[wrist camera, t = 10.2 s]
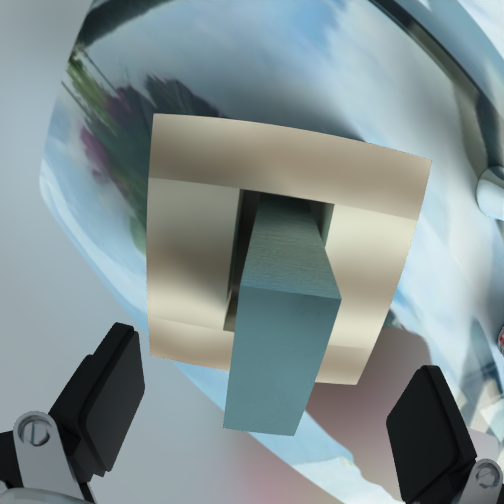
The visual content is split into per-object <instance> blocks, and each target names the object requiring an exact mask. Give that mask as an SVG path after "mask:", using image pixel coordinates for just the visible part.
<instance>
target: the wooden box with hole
mask: <svg viewBox="0 0 504 504" xmlns="http://www.w3.org/2000/svg"><path fill="white" fill-rule="evenodd" d="M431 163H432V161H431V160H428V159H425V158H422V157H418V156H415V155H412V154H408V153H405V152H401V151H397V150H394V149H390V148H386V147H382V146H379V145H375V144H371V143H366V142H362V141H358V140H353V139H349V138H344V137H340V136H335V135H330V134H325V133H320V132H315V131H309V130H304V129H298V128H292V127H286V126H280V125H273V124H266V123H259V122H251V121H243V120H235V119H225V118H215V117H204V116H191V115H174V114H154V116H153V126H152V137H151V149H150V163H149V179H148V200H147V248H146V257H147V305H148V326H149V342H150V355H151V356H156V357H160V358H165V359H169V360H174V361H178V362H183V363H188V364H193V365H198V366H204V367H209V368H215V369H220V370H226V371H230V365H231V356H232V348H233V340H234V331H235V323H236V315H237V307H238V299H239V290H240V284H241V279H242V275H243V270H244V266H245V261H246V257H247V253H248V248H249V244H250V239H251V235H252V231H253V226H254V222H255V217H256V213H257V209H258V204H259V200H260V196H261V194H265V195H272V196H278V197H285V198H292V199H298V200H304V201H308V204H309V206H310V209H311V212H312V214H313V217H314V220H315V222H316V225H317V228H318V231H319V233H320V236H321V239H322V242H323V245H324V247H325V250H326V253H327V256H328V259H329V262H330V265H331V268H332V271H333V273H334V276H335V279H336V282H337V285H338V289H339V292H340V295H341V298H342V300H341V304H340V307H339V310H338V314H337V317H336V320H335V323H334V327H333V330H332V333H331V336H330V339H329V342H328V345H327V348H326V351H325V354H324V357H323V360H322V363H321V366H320V369H319V372H318V374H317V377H316V380H315V382H325V383H337V384H354V385H356V384H357V382H358V380H359V378H360V376H361V374H362V371H363V369H364V367H365V365H366V363H367V361H368V358H369V356H370V354H371V352H372V349H373V347H374V345H375V342H376V340H377V337H378V335H379V333H380V330H381V328H382V325H383V323H384V320H385V318H386V315H387V312H388V310H389V307H390V305H391V302H392V299H393V296H394V294H395V291H396V288H397V285H398V282H399V280H400V277H401V274H402V271H403V268H404V265H405V262H406V258H407V255H408V252H409V249H410V246H411V242H412V239H413V236H414V232H415V229H416V225H417V221H418V218H419V214H420V210H421V206H422V202H423V198H424V194H425V190H426V186H427V182H428V177H429V173H430V168H431Z"/></svg>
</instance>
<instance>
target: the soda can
mask: <svg viewBox="0 0 504 504" xmlns="http://www.w3.org/2000/svg"><path fill="white" fill-rule="evenodd" d="M498 349H499V351H500V352H501V354H502V355H503V357H504V326H503V327H502V329H501V331H500V333H499V337H498Z"/></svg>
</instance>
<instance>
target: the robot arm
mask: <svg viewBox="0 0 504 504" xmlns="http://www.w3.org/2000/svg"><path fill="white" fill-rule="evenodd" d="M144 390H145V384H144V376H143V369H142V361H141V352H140V343H139V334H138V332H136V331H134V328H133V326H130V325H126V324H122V323H118V322H116V323H115V324H114V325H113V326H112V328H111V329H110V331H109V332H108V333H107V335H106V336H105V338H104V339H103V341H102V342H101V344H100V345H99V346H98V348H97V349H96V351H95V352H94V354H93V355H90V354H89V355H87V356H86V357H85V359H84V360H83V361H82V363H81V364H80V365H79V367H78V368H77V370H76V371H75V373H74V374H73V376H72V377H71V379H70V380H69V382H68V383H67V385H66V386H65V388H64V389H63V391H62V392H61V394H60V395H59V397H58V399H57V400H56V402H55V403H54V405H53V406H52V408H51V409H50V411H49V413H48V414H46V413H44V412H39V411H30V412H27V413H25V414H23V415H21V416H20V417H19V418H18V419H17V421H16V422H15V425H14V427H13V430H12V431H8V432H3V433H0V504H98V503H97V501H96V499H95V496H94V494H93V492H92V489H91V487H90V484H89V482H90V481H91V478H92V476H93V474H96V475H98V476H101V477H103V476H104V474H105V471H108V472H109V471H111V469H112V467H113V465H114V462H115V460H116V458H117V455H118V453H119V451H120V448H121V446H122V443H123V441H124V439H125V436H126V434H127V431H128V429H129V427H130V425H131V422H132V420H133V418H134V415H135V413H136V411H137V408H138V406H139V404H140V401H141V399H142V397H143V394H144ZM386 426H387V430H388V435H389V439H390V444H391V448H392V453H393V457H394V462H395V467H396V472H397V477H398V482H399V487H400V493H401V498H402V500H403V501H404V502H405V503H406V504H504V484H503V483H502V482H503V473H502V470H501V468H500V467H499V465H498V464H497V463H496V462H494V461H493V460H490V459H481V460H479V461H478V462H476V460H475V458H476V457H477V454H476V451H475V448H474V446H473V443H472V440H471V438H470V435H469V433H468V430H467V428H466V425H465V423H464V420H463V418H462V416H461V413H460V411H459V409H458V406H457V404H456V402H455V400H454V397H453V395H452V393H451V391H450V388H449V386H448V384H447V382H446V380H445V378H444V376H443V373H442V371H441V369H440V368H439V366H435V365H423V366H422V367H421V368H420V369H418V370H417V371H416V372H415V374H414V375H413V377H412V379H411V380H410V382H409V384H408V386H407V387H406V389H405V390H404V392H403V394H402V395H401V397H400V398H399V400H398V402H397V403H396V405H395V406H394V408H393V409H392V411H391V413H390V414H389V415H388V417H387V421H386Z"/></svg>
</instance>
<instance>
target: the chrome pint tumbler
mask: <svg viewBox="0 0 504 504" xmlns="http://www.w3.org/2000/svg"><path fill="white" fill-rule="evenodd" d="M476 197H477V203H478V206H479V208H480V210H481V211H482V212H483V213H484V214H485V215H486V216H488V217H490V218H494V219H498V220H501V221H503V222H504V167H501V166H491V167H489V168H488V169H486V170H485V171H484V172H483V174H482V175H481V177H480V179H479V181H478V185H477V191H476Z"/></svg>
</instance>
